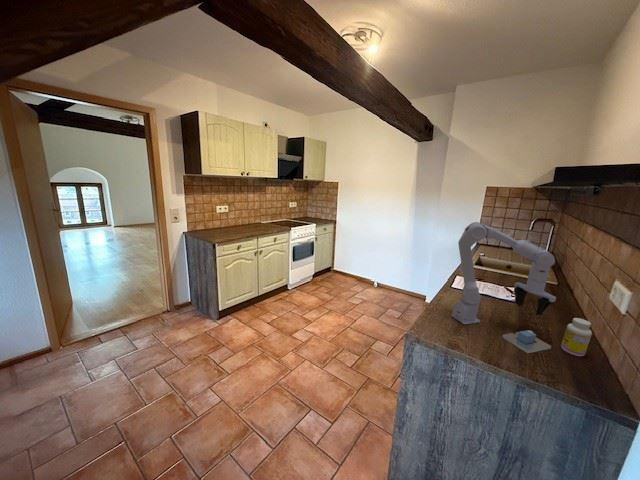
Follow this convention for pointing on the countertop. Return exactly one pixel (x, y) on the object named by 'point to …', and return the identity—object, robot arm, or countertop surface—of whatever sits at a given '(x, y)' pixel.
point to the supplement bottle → (577, 337)
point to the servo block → (526, 337)
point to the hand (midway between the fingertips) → (529, 309)
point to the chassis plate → (529, 348)
